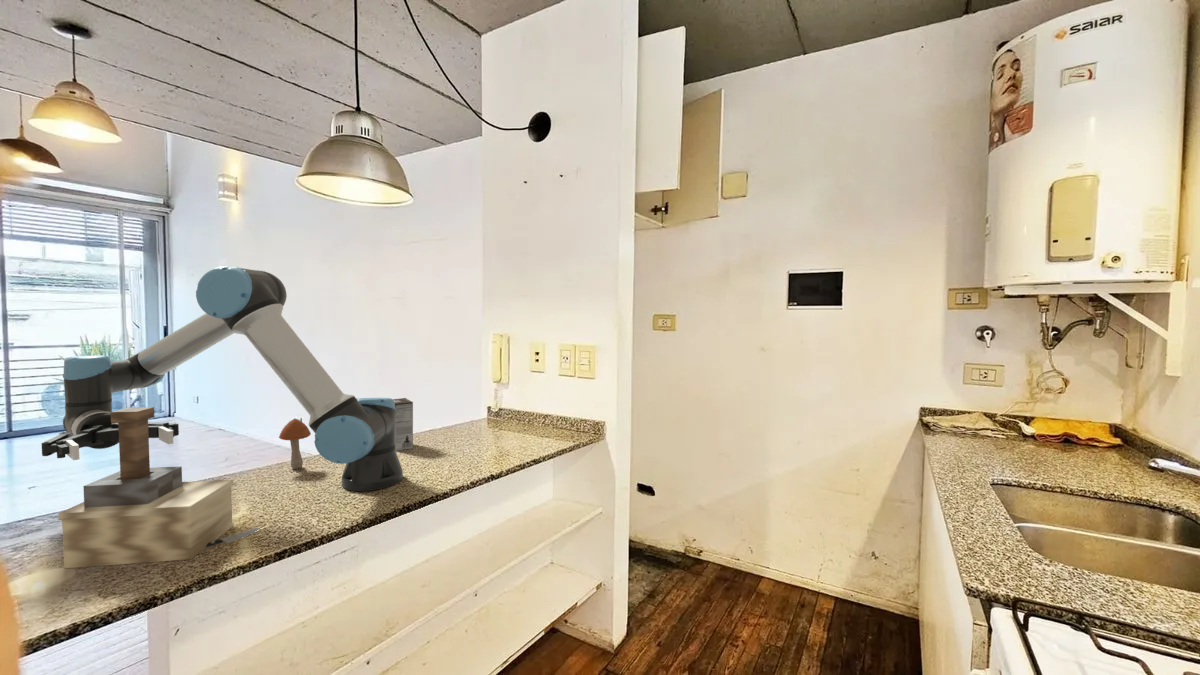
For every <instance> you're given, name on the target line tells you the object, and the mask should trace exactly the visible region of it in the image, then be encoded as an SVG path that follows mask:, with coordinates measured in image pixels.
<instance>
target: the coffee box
mask: <svg viewBox="0 0 1200 675" xmlns="http://www.w3.org/2000/svg"><path fill="white" fill-rule="evenodd" d="M392 399H393V400H394V402H395V409H396V411H395V448H396V452H397V451H404V450H409V449H414V438H413V437H414V401H411V400H409V399H408V398H406V397H403V398H402V397H401V398H392ZM403 449H404V450H403Z"/></svg>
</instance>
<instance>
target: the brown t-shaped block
mask: <svg viewBox="0 0 1200 675" xmlns="http://www.w3.org/2000/svg"><path fill="white" fill-rule="evenodd" d="M153 418H155V406H148V407H147V406H145V407H144V406H141V407H140V406H139V407H126V408H121V409H118V410H114V411H113V410H112V412H111V423H118V428H119V443H118V447H119V448H118V449H119V450H118V452H119V469H120V470H119V471H120V477H121V480H124V479H141V478H143V477H145V476H147V475H149V474H150V468H151V465H150V463H151V462H150V441H149V440H150V438H149V435H148V422H149V420H150V419H153Z"/></svg>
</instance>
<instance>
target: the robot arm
mask: <svg viewBox="0 0 1200 675" xmlns="http://www.w3.org/2000/svg"><path fill="white" fill-rule="evenodd" d="M195 298H196V301H197V304H198V306H199V308H200V309H201V310H202V311H203V312H204V314H202V315H200V316H199V317H197V318H195V319H194V320H192V321H191V322H188V323H187V324H185V325H184V326H182V327H180V328H178V329H177V330H175V331H174V332H173V331H172V333H169V334H168V335H166V336H164V337H163V338H162V339H160V340H158V341H156V342H155V343H152V344H151V345H149V346H148V347H146V348H144V349H142V350H141V351H139V352H138V353H136V354H134V355H133V356H130V357H129V358H127V359H124V360H115V361H114V360H113V361H111V359H110V356H108V355H103V354H102V355H101V354H100V355H97V354H96V355H95V354H94V355H76V356H70V357H67V358H65V360H64V362H63V373H62V378H63V387H64V400H65V401H64V402H65V403H64V404H65V405H64V410H65V414H64V416H63V418H62V426H63V430H64V431H62V432H59V433H58V435H56V436H53V437H51V438H49V439H48V440H45V441H43V442H42V443H41V456H42V457H49V456H51V455H53V454H55V453H56V458H57V459H64V458H66V456H68V458H70V459H71V460H72V461H78V460H80V449H81V448H90V449H96V450H97V449H98V450H102V449H108V448H111V447H114V446H115V445H117V444H118V445H119V428H118V423H111V412H113V403H112V402H113V397H112V396H113V395H112V393H117V392H123V391H129V390H134V389H143V388H147V387H150V386H154V385H156V384H159V383H160V382H161V381H162V380H163V379H164V376H165V375H166V374H167V373H169V372H171V371H173V369H175V368H178V367H179V366H181V365H182V364H184V363H185V362H188V361H190V359H192V358H194V357H196V356H198V355H199V354H201V353H202V352H204V351H206V350H207V349H210V348H211V347H213V346H215V345H216V344H217V343H220V342H222V341H223V340H225V339H226V338H228V337H230V336H232V335H233V334H239V335H244V336H245V337H246V338H247V340H249V342H250V343H251V344H252V346H254V348H255V350H257V352H258V353H259V355H261V357H262V358H263V359H264V360H265V361H266V362H265V363H267V364H268V365H269V366H270V368H271V369H272V370H273V371H274V373H275V374H276V375H277V376H278V378H279V379H280V380H281V382H283V384H284V385H285V387H287V389H288V390H289V391H290V393H291V394H292V395H293V396H294V397H295V399H296V400H297V401H298V402H299V404H300V405H301V406H302V408H303V409H304V410H305V412H307V414H308V415H309V420H308V421H309V422H308V426H309V428H310V429H311V430H312V432H313V433H314V446H315V449H316V450H317V452H318V454H319V455H320V456H321V457H322V458H323V459H325V460H327V461H328V462H330V463H331V462H332V463H334V464H345V466H344V469H343V472H342V475H341V487H342V488H343V489H345V490H349V491H353V492H355V491H357V492H358V491H359V492H365V491H376V490H381V489H385V488H388V487H392V486H394V485H398V484H399V483H400V482H401V481H403V478H404V477H403V474H404V473H403V472H404V471H403V468H402V465H401V462H400V459H399V458H398V454H397V451H396V448H395V411H396V409H395V402H394V400H393V399H394V398H390V397H359V398H357V397H355V395H352V394H347V393H344V392H343V391H342V390H341V388H340V387H339V386H338V385H337V383H336V382H335V381H334V380H333V379H332V377H331V376H330V374H329V373H328V372H327V370H325V368H324V367H323V366H322V364H321V363H320V362H319V361H318V360H317V358H316V357H315V356H314V355H313V353H312V352H311V350H310V349H309V348H308V347H307V346H306V344H304V342H303V340H301V338H300V337H299V335H298V334H297V333H296V332H295V330H294V329H293V328H292V327H291V326H290V324H289V323H288V322H287V321H286V319H285V318H284V317H283V316H282V314H283V313H282V312H283V309H284V305H285V303H286V301H287V298H288V296H287V289H286V287H285V285H284V283H283V281H281V279H279V278H278V277H277V276H276V275H274V274H273V273H270V272H268V271H265V270H256V269H248V268H243V267H238V266H232V265H231V266H217V267H215V268H212V269H209V270H208V271H207V272H205V273H204V274H203V275H202V276H201V278H200V279H199V281H198V282H197V288H196V290H195ZM179 430H180V428H179V423H176V422H175V423H169V421H168V422H167V421H166V422H151V421H148V435H149V439H158V440H159V441H161V442H163V443H165V444H167V445H173V444H174V438H175V437H177V436H179V434H180V433H179V432H180V431H179Z"/></svg>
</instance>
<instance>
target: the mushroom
mask: <svg viewBox="0 0 1200 675" xmlns="http://www.w3.org/2000/svg"><path fill="white" fill-rule="evenodd" d="M311 434H312V433H311V431H310V429H309V428H308V426H307V425H306V424H305V423H304V422H303V421H301V420H300V419H297V418H293V419H291V420H289V421H288V423H287V424H286V425H284V427H283V428H282V429H281V431H280V433H279V436H278V439H280V440H282V441H289V442H290V448H291V449H290V450H291V457H290V466H291V469H292V468H293V469H292V470H299V469H301V468H302V467H303V463H304V462H303V457H302V454H301V450H300V440H302V439H303V440H305V438H308V437H310V436H311ZM298 468H299V469H298Z"/></svg>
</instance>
